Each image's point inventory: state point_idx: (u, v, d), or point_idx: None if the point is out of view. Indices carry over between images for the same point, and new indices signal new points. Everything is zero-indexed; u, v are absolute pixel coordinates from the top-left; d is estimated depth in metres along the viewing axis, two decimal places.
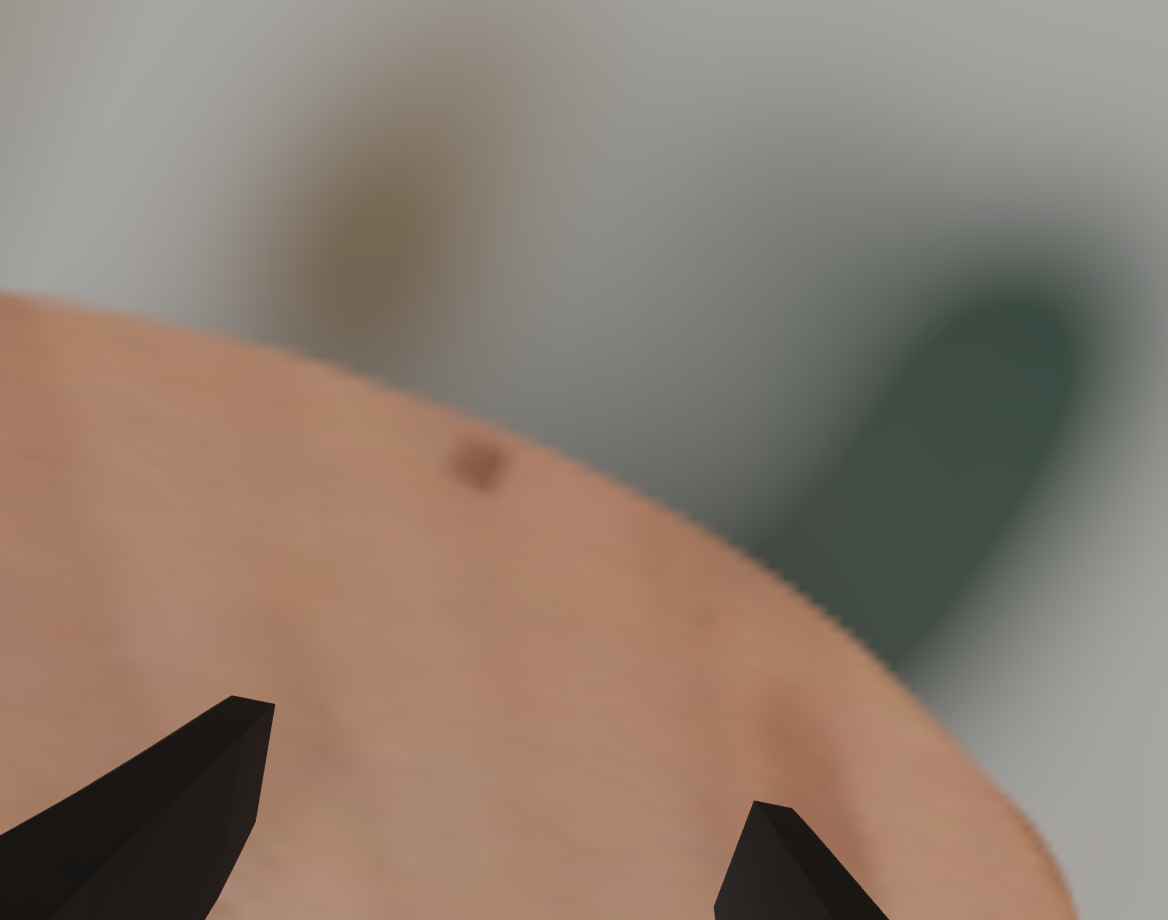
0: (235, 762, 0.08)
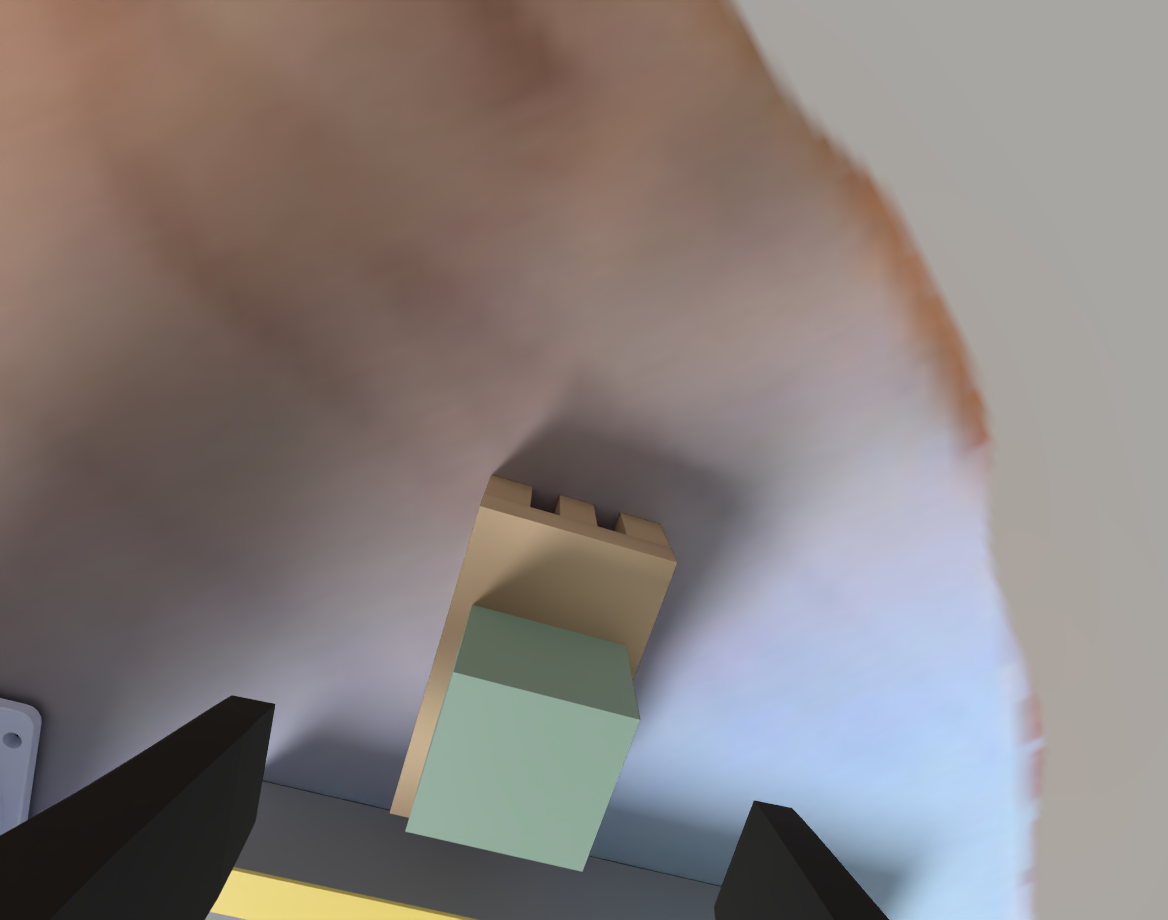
0: (235, 762, 0.08)
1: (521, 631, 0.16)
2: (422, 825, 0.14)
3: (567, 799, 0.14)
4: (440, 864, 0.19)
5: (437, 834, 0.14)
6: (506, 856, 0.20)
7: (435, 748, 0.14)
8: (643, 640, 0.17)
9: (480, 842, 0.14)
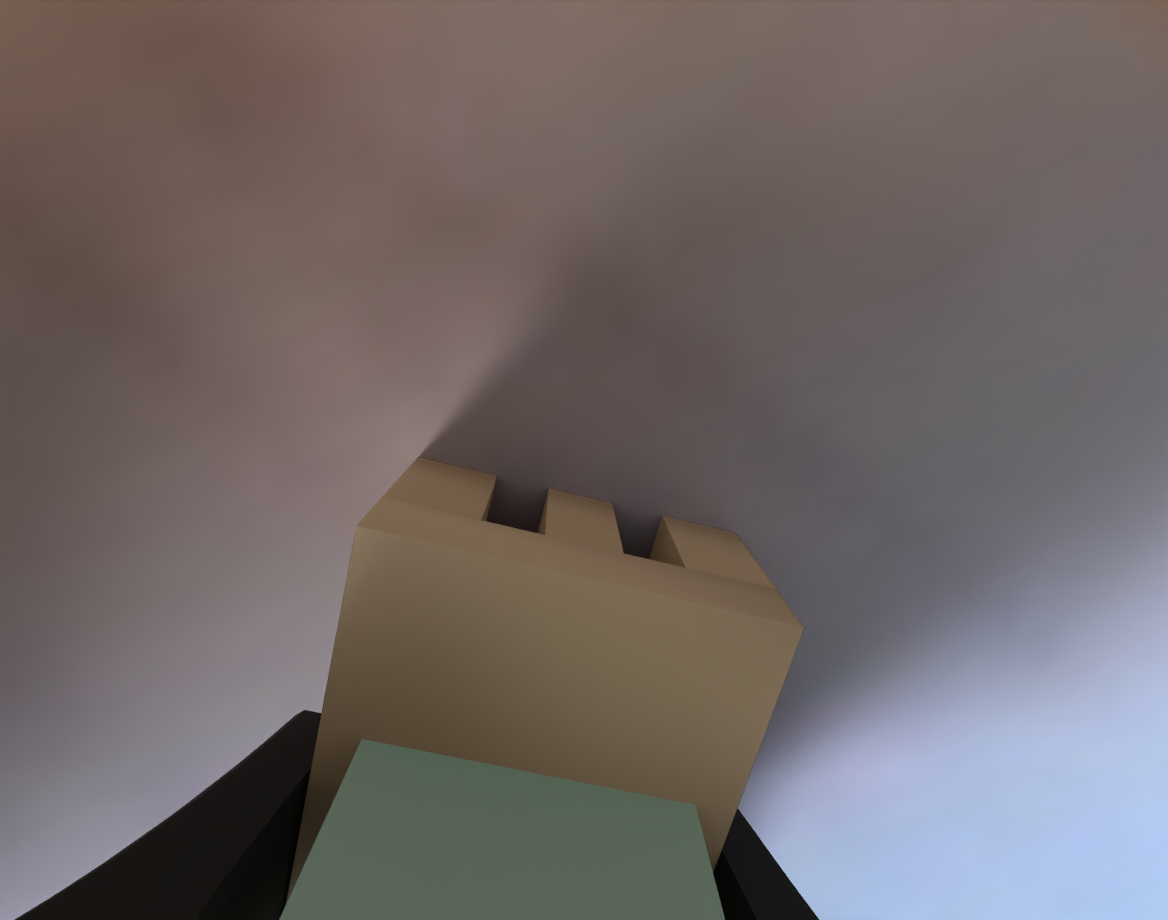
0: None
1: (465, 803, 0.07)
2: None
3: None
4: None
5: None
6: None
7: None
8: (731, 792, 0.08)
9: None
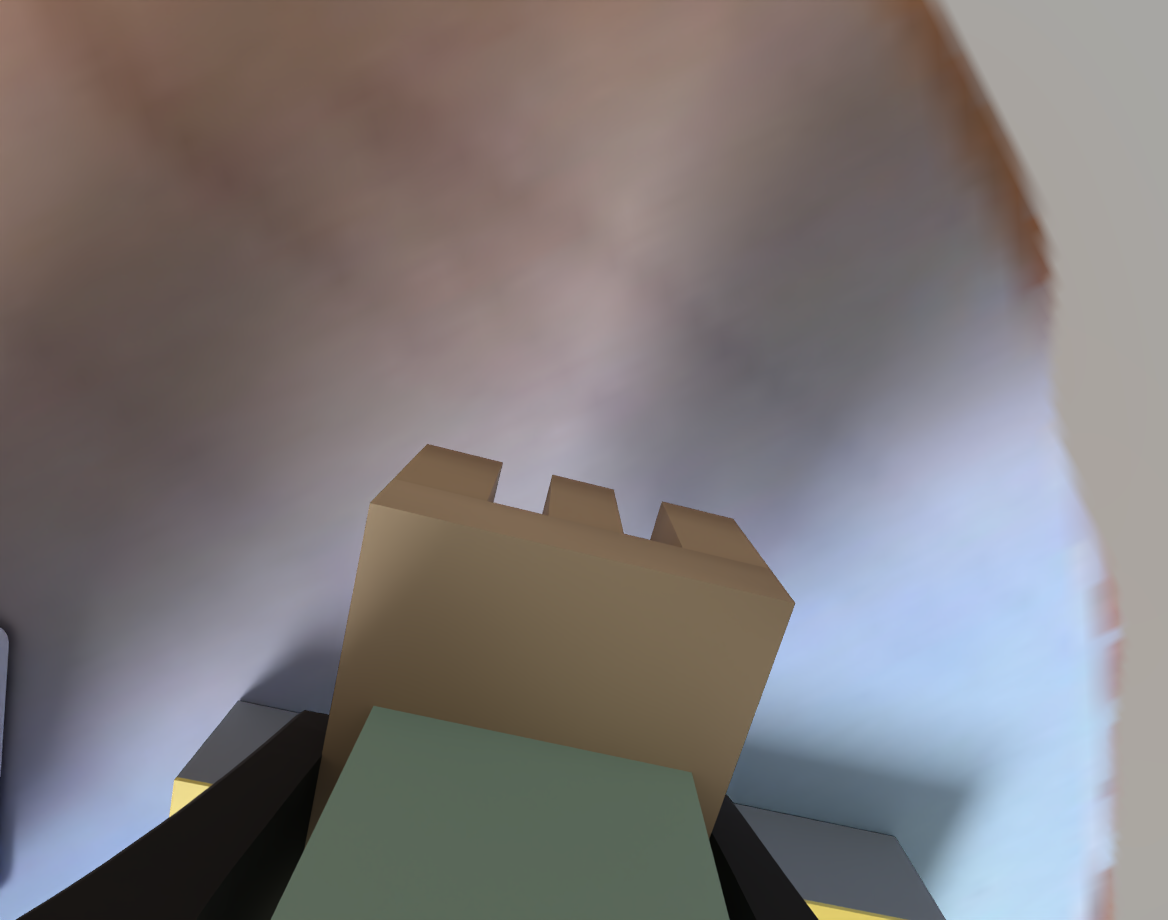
0: (317, 778, 0.08)
1: (472, 765, 0.07)
2: None
3: None
4: None
5: None
6: None
7: None
8: (727, 761, 0.08)
9: None
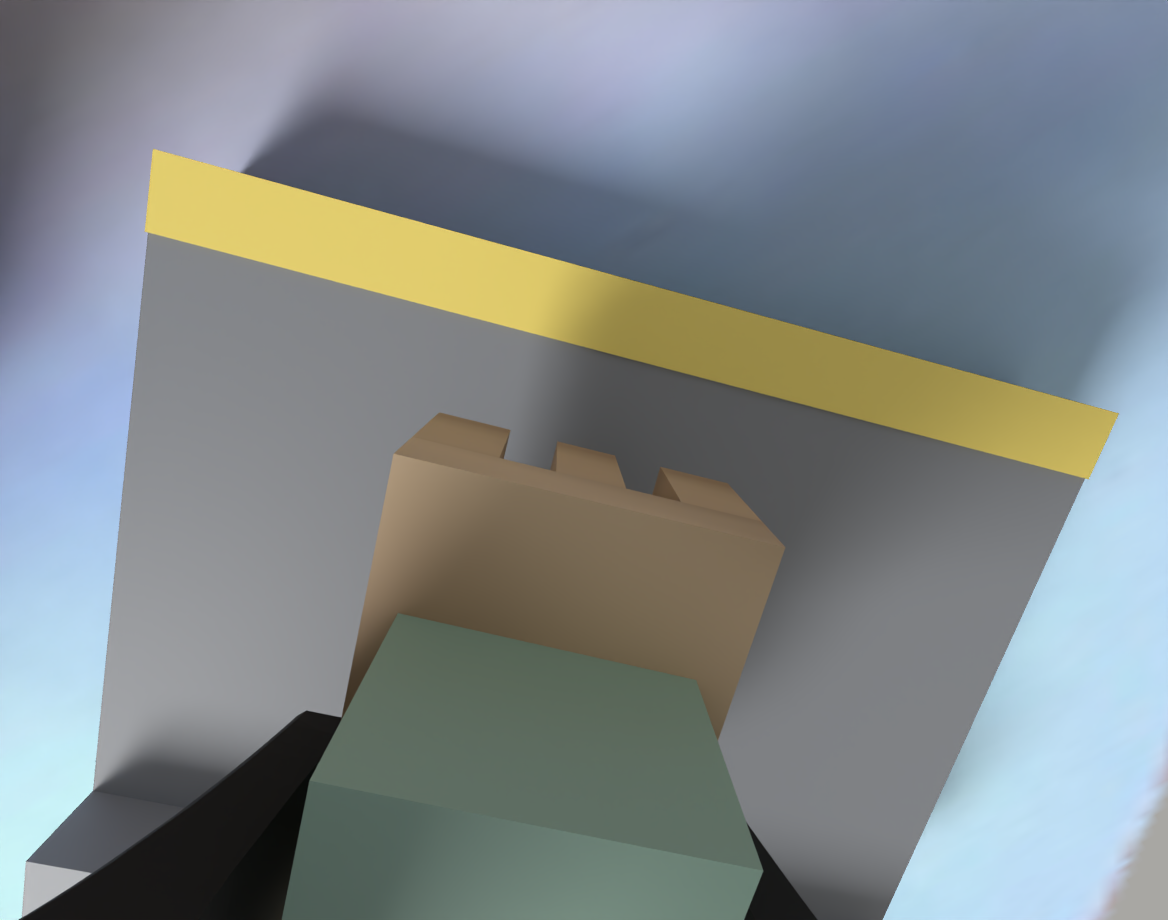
0: None
1: (492, 662, 0.08)
2: None
3: None
4: None
5: None
6: None
7: None
8: (723, 697, 0.09)
9: None
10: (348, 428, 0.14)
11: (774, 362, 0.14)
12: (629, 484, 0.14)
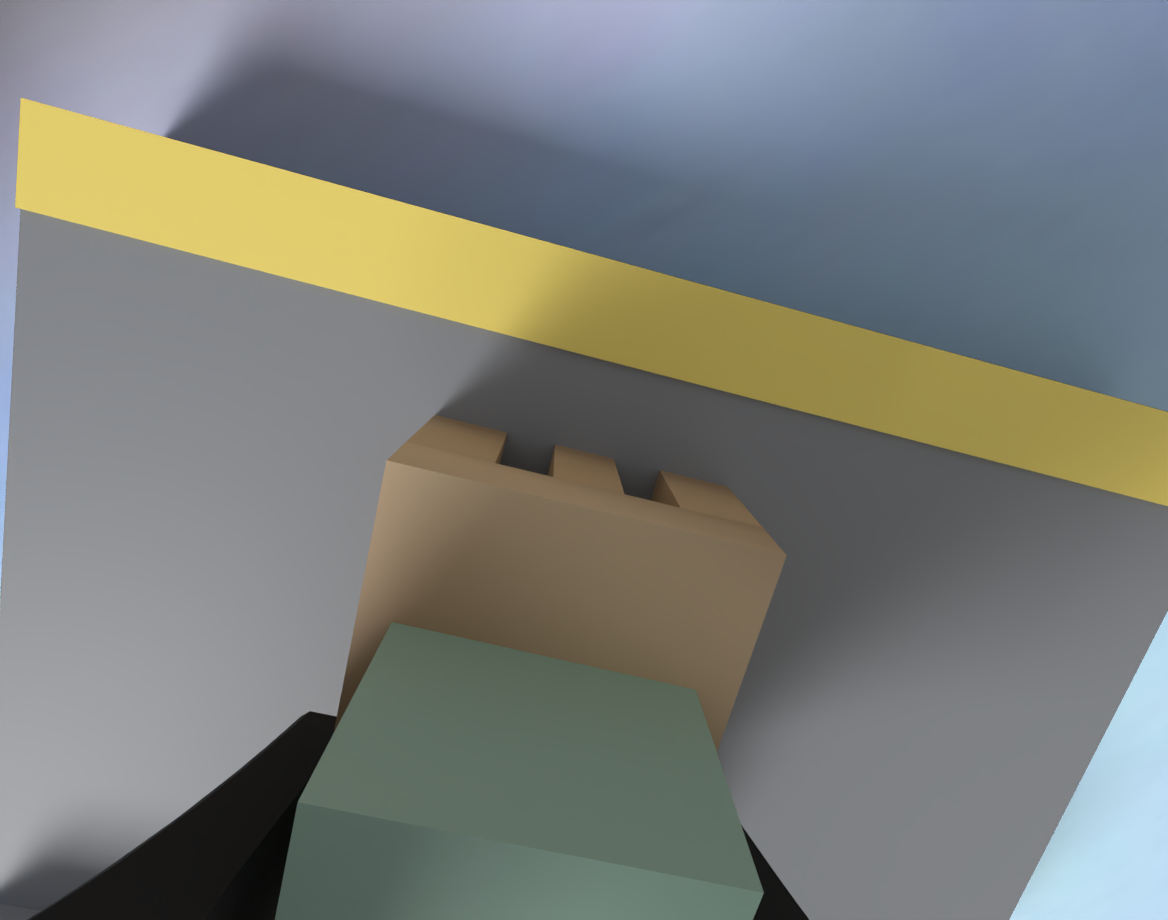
0: None
1: (488, 673, 0.08)
2: None
3: None
4: None
5: None
6: None
7: None
8: (722, 707, 0.09)
9: None
10: (289, 460, 0.11)
11: (829, 375, 0.11)
12: None
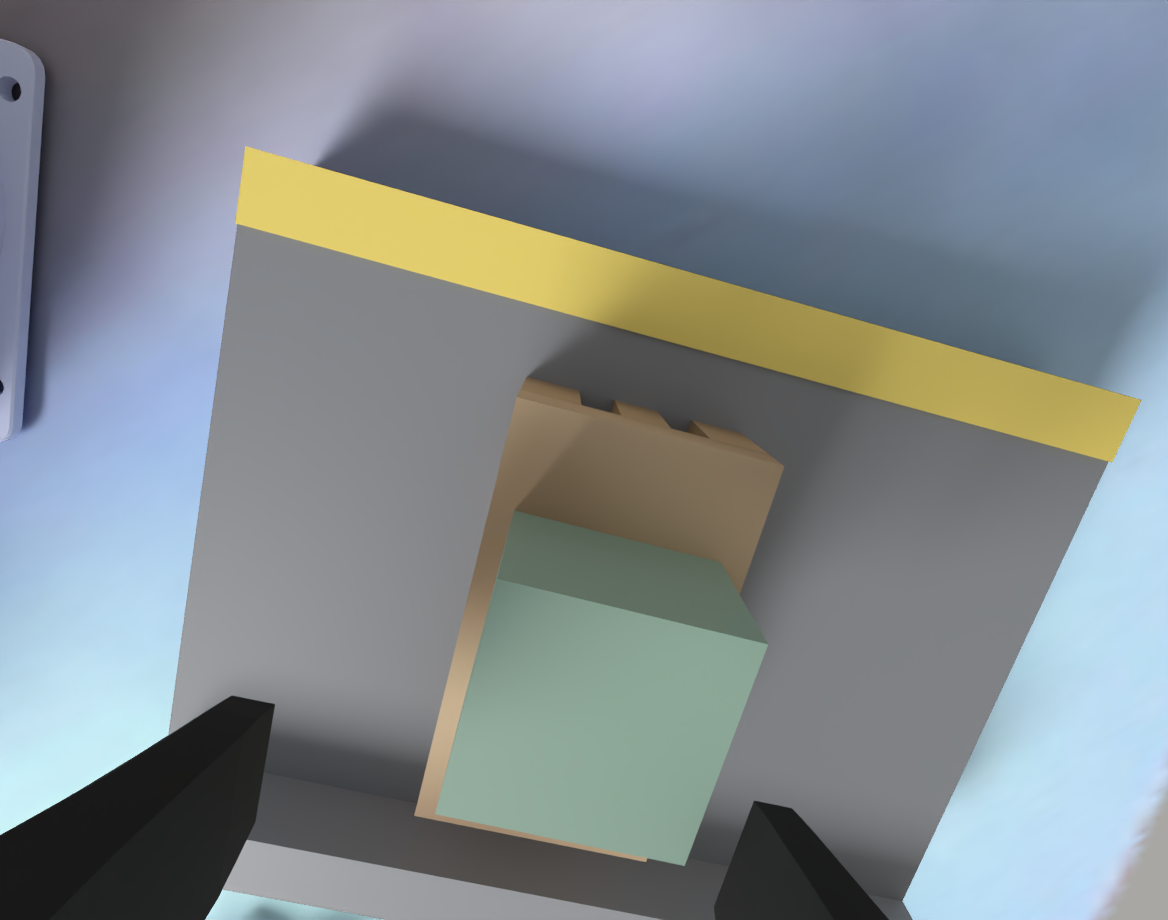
0: (235, 762, 0.08)
1: (583, 540, 0.11)
2: (459, 804, 0.10)
3: (663, 763, 0.10)
4: None
5: (480, 817, 0.10)
6: None
7: (474, 693, 0.09)
8: (739, 575, 0.12)
9: (541, 827, 0.10)
10: (417, 409, 0.14)
11: (817, 350, 0.14)
12: None
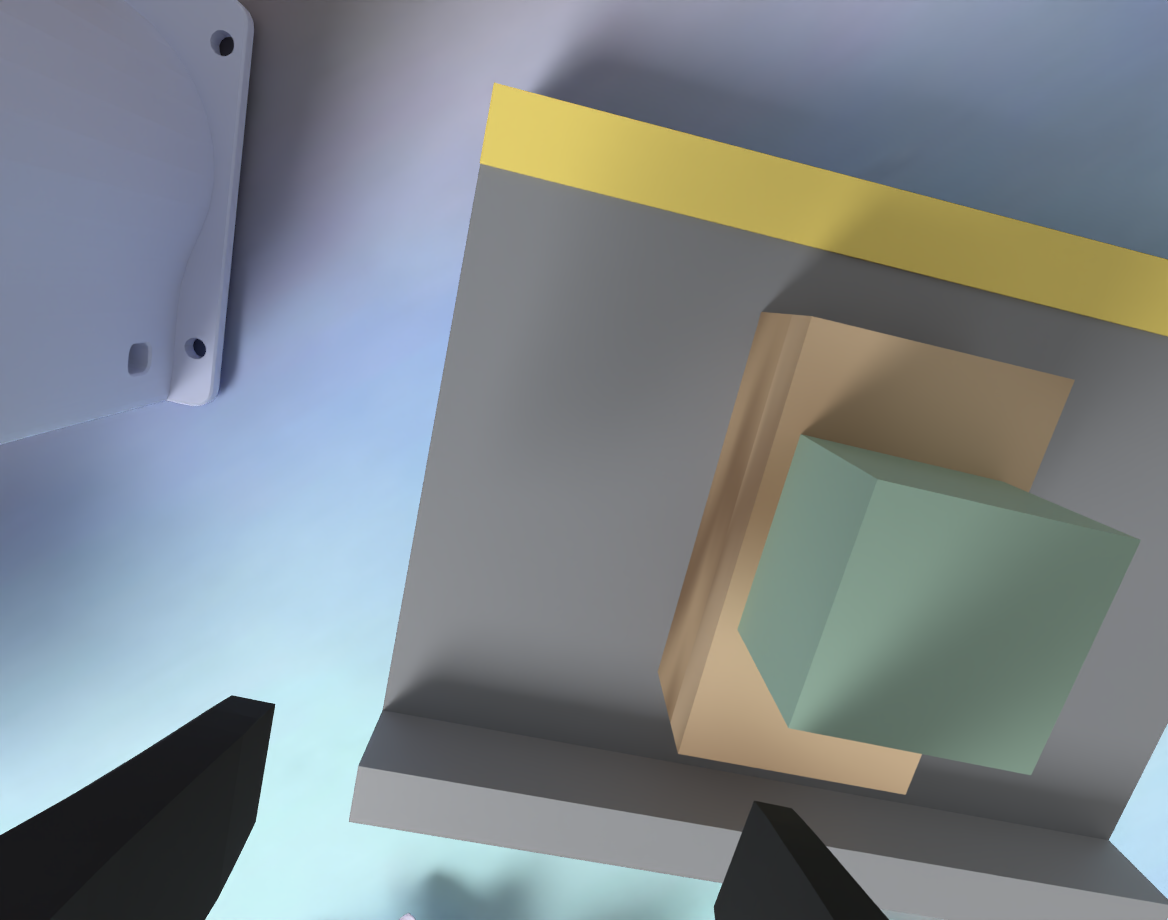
0: (235, 762, 0.08)
1: (885, 458, 0.11)
2: (813, 717, 0.10)
3: (1022, 668, 0.10)
4: None
5: (834, 729, 0.10)
6: None
7: (841, 600, 0.09)
8: None
9: (893, 738, 0.10)
10: (650, 349, 0.14)
11: (1054, 274, 0.14)
12: None
